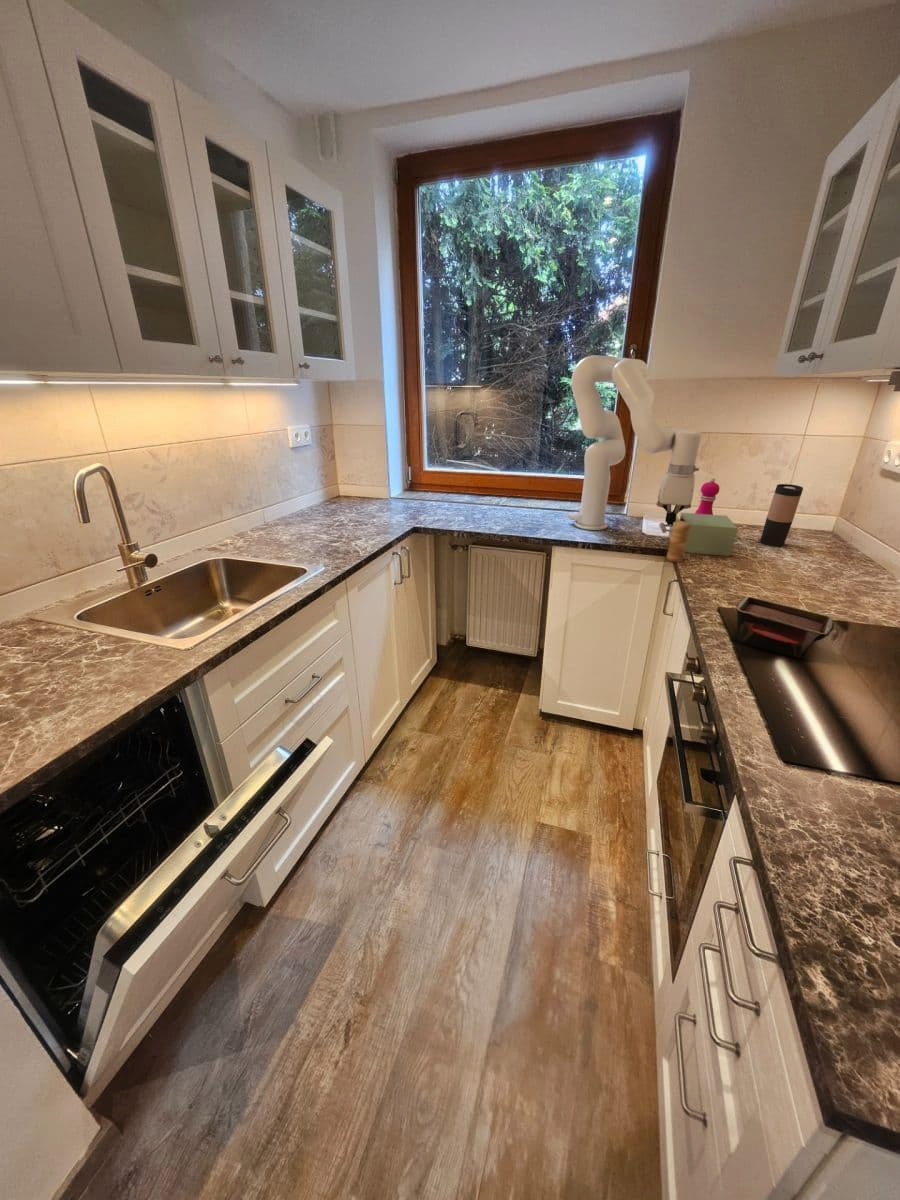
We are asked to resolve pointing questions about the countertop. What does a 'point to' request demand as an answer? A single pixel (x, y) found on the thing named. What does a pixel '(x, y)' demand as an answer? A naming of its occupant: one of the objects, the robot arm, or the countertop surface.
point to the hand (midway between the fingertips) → (669, 523)
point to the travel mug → (781, 514)
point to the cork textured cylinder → (678, 541)
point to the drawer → (669, 526)
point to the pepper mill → (708, 497)
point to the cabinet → (710, 534)
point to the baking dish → (779, 626)
